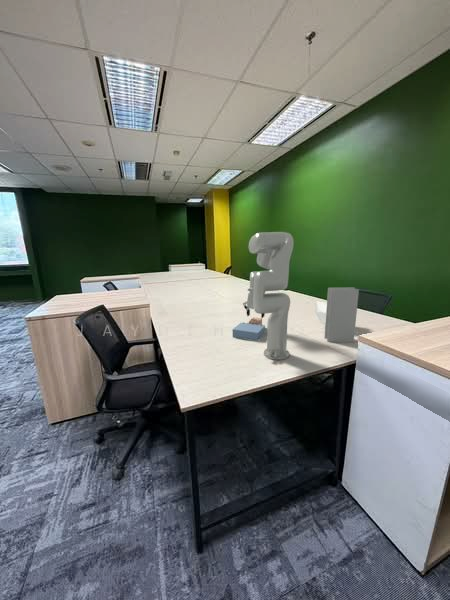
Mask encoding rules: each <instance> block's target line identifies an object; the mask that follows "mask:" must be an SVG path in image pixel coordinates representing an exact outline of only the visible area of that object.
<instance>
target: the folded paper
mask: <svg viewBox="0 0 450 600" xmlns="http://www.w3.org/2000/svg"><path fill="white" fill-rule="evenodd" d="M326 309H327V302H323V301H318V300H316V301H315V314H316V316H317V318H318V320H319V323H320V324H321V325H325V323H326Z"/></svg>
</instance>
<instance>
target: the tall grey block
mask: <svg viewBox="0 0 450 600" xmlns="http://www.w3.org/2000/svg"><path fill="white" fill-rule="evenodd" d="M359 293H360V288H356V287H328V288H327V296H326V298H327V299H326V303H327V309H326V323H325V324H324V336H323V338H324V339H326V342H327V343H328V342H329V343H354V340H355V333H356V332H355V329H356V321H357V313H358V302H359V295H360V294H359Z"/></svg>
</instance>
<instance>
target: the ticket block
mask: <svg viewBox="0 0 450 600" xmlns="http://www.w3.org/2000/svg"><path fill="white" fill-rule="evenodd" d="M265 333H266V325H265V324H262V325H258V324H249V322H240V323H239V324H237V325H236V326H234V327H233V328H232V338H236V339H243V340H248V341H249V340H250V341H254V342H255V341H256V342H258V341H259V340H260V339H261V338H262V337H263V336H264V335H265Z"/></svg>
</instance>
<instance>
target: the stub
mask: <svg viewBox="0 0 450 600" xmlns="http://www.w3.org/2000/svg"><path fill="white" fill-rule="evenodd" d="M248 323H249V324H258V325H263V318H261V317H251V319H249V320H248Z"/></svg>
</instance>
